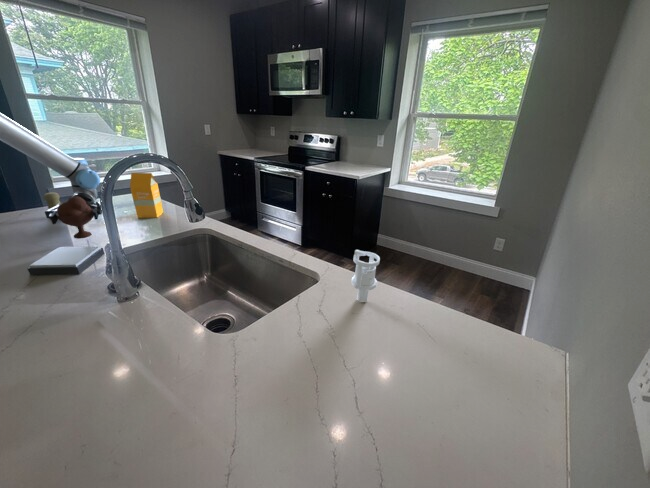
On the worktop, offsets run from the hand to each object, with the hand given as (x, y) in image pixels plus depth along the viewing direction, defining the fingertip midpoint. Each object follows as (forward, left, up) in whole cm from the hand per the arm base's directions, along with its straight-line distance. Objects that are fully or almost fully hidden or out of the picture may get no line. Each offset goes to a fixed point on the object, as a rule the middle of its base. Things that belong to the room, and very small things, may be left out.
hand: (74, 218), depth 105 cm
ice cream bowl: (-2, +3, -9) cm, 9 cm away
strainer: (+96, -38, -11) cm, 104 cm away
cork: (-30, +33, -11) cm, 45 cm away
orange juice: (+9, +35, -11) cm, 38 cm away
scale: (+3, -13, -11) cm, 18 cm away
